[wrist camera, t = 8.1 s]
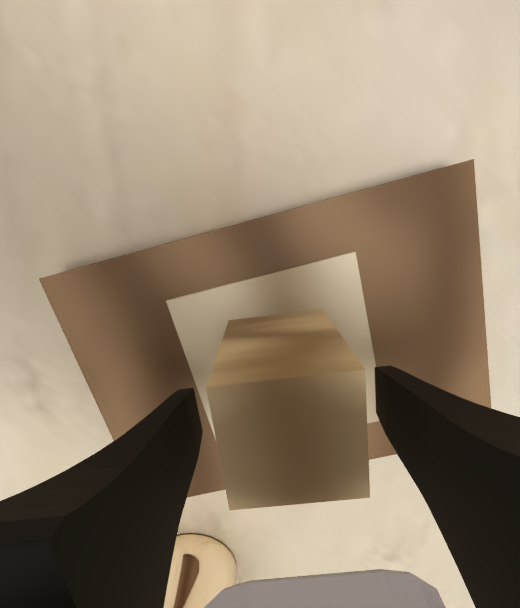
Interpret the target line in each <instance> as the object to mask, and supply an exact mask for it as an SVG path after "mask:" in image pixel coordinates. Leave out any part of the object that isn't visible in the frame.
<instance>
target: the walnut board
mask: <svg viewBox="0 0 520 608" xmlns="http://www.w3.org/2000/svg"><path fill="white" fill-rule="evenodd" d="M39 280H40V282H41V284H42V287H43V289H44V291H45V293H46V295H47V297H48V300H49V302H50V304H51V306H52V308H53V310H54V312H55V315H56V317H57V319H58V321H59V323H60V325H61V328H62V330H63V332H64V334H65V336H66V338H67V340H68V343H69V345H70V347H71V349H72V351H73V353H74V356H75V358H76V360H77V362H78V364H79V366H80V369H81V371H82V373H83V375H84V377H85V379H86V381H87V384H88V386H89V388H90V390H91V392H92V394H93V397H94V399H95V401H96V403H97V405H98V407H99V409H100V412H101V414H102V416H103V418H104V420H105V422H106V425H107V427H108V429H109V431H110V433H111V435H112V438H113V440H114V441H115V440H116V439H118V438H119V437H120V436H122V435H123V434H125V433H126V432H127V431H128V430H130V429H131V428H132V427H133V426H135V425H136V424H137V423H139V422H140V421H141V420H142V419H144V418H145V417H146V416H147V415H148V414H150V413H151V412H152V411H153V410H154V409H155V408H157V407H158V406H159V405H160V404H161V403H162V402H164V401H165V400H166V399H167V398H168V397H169V396H171V395H172V394H173V393H174V392H176V391H177V390H179V389H186V388H194V392H195V397H196V401H197V406H198V411H199V416H200V420H201V425H202V430H203V433H202V440H201V446H200V452H199V457H198V460H197V464H196V467H195V471H194V474H193V478H192V481H191V484H190V488H189V491H188V494H187V497H191V496H196V495H200V494H205V493H210V492H215V491H220V490H225V489H226V488H225V483H224V478H223V473H222V468H221V463H220V457H219V452H218V447H217V442H216V437H215V432H214V427H213V421H212V416H211V411H210V406H209V401H208V396H207V390H206V385H207V382H208V379H209V376H210V374H211V371H212V368H213V365H214V362H215V359H216V356H217V353H218V350H219V347H220V344H221V342H222V339H223V336H224V333H225V330H226V327H227V324H228V321H229V320H236V319H244V318H253V317H261V316H270V315H278V314H287V313H295V312H304V311H312V310H321V309H323V310H324V311H325V313H326V314H327V316H328V317H329V319H330V320H331V321H332V323H333V324H334V326H335V327H336V329H337V330H338V331H339V333H340V334H341V336H342V337H343V339H344V340H345V341H346V343H347V344H348V346H349V347H350V349H351V350H352V352H353V353H354V354H355V356H356V357H357V359H358V360H359V362H360V363H361V364H362V366H363V367H364V369H365V376H366V404H367V431H368V459H369V460H370V459H375V458H380V457H384V456H389V455H394V454H397V453H396V451H395V449H394V448H393V446H392V444H391V443H390V441H389V439H388V438H387V436H386V434H385V432H384V430H383V428H382V425H381V423H380V421H379V418H378V416H377V414H376V399H375V367H380V366H389V365H391V366H393V367H396V368H398V369H400V370H403V371H405V372H407V373H409V374H411V375H413V376H415V377H417V378H419V379H421V380H423V381H425V382H427V383H429V384H432V385H434V386H436V387H438V388H440V389H442V390H445V391H447V392H449V393H452V394H454V395H456V396H459V397H461V398H464V399H466V400H469V401H471V402H474V403H477V404H479V405H482V406H485V407H488V408H491V398H490V384H489V370H488V355H487V341H486V327H485V313H484V299H483V284H482V270H481V256H480V242H479V228H478V213H477V199H476V185H475V171H474V159H473V160H469V161H465V162H462V163H458V164H454V165H451V166H447V167H444V168H440V169H436V170H433V171H429V172H425V173H422V174H418V175H414V176H411V177H407V178H404V179H400V180H396V181H393V182H389V183H385V184H382V185H378V186H374V187H371V188H367V189H364V190H360V191H356V192H353V193H349V194H345V195H342V196H338V197H334V198H331V199H327V200H324V201H320V202H316V203H313V204H309V205H305V206H302V207H298V208H294V209H291V210H287V211H284V212H280V213H276V214H273V215H269V216H265V217H262V218H258V219H254V220H251V221H247V222H244V223H240V224H236V225H233V226H229V227H225V228H222V229H218V230H214V231H211V232H207V233H204V234H200V235H196V236H193V237H189V238H185V239H182V240H178V241H174V242H171V243H167V244H164V245H160V246H156V247H153V248H149V249H145V250H142V251H138V252H134V253H131V254H127V255H124V256H120V257H116V258H113V259H109V260H105V261H102V262H98V263H94V264H91V265H87V266H84V267H80V268H76V269H73V270H69V271H65V272H62V273H58V274H54V275H51V276H47V277H44V278H40V279H39Z"/></svg>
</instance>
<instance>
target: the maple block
mask: <svg viewBox="0 0 520 608" xmlns="http://www.w3.org/2000/svg"><path fill="white" fill-rule="evenodd" d="M206 390H207V396H208V401H209V406H210V411H211V416H212V421H213V427H214V432H215V437H216V442H217V447H218V452H219V457H220V463H221V468H222V473H223V478H224V483H225V488H226V494H227V499H228V504H229V509H230V510H238V509H249V508H260V507H271V506H282V505H293V504H304V503H315V502H326V501H337V500H348V499H359V498H370V487H369V459H368V431H367V404H366V376H365V369H364V367H363V366H362V364H361V363H360V362H359V360H358V359H357V357H356V356H355V354H354V353H353V352H352V350H351V349H350V347H349V346H348V344H347V343H346V341H345V340H344V339H343V337H342V336H341V334H340V333H339V331H338V330H337V329H336V327H335V326H334V324H333V323H332V321H331V320H330V319H329V317H328V316H327V314H326V313H325V311H324V310H323V309H321V310H312V311H304V312H295V313H287V314H278V315H270V316H261V317H253V318H244V319H236V320H229V321H228V324H227V327H226V330H225V333H224V336H223V339H222V342H221V344H220V347H219V350H218V353H217V356H216V359H215V362H214V365H213V368H212V371H211V374H210V376H209V379H208V382H207V385H206Z"/></svg>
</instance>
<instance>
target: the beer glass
mask: <svg viewBox="0 0 520 608" xmlns="http://www.w3.org/2000/svg"><path fill="white" fill-rule="evenodd" d="M235 576H236V563H235V560H234V557H233V555H232V554H231V552H230V551H229V550H228V549H227V548H226V547H225V546H224V545H223V544H222V543H220V542H219V541H217V540H215V539H213V538H210V537H207V536H204V535H198V534H185V535H179V536H177V537H176V542H175V547H174V552H173V557H172V562H171V568H170V574H169V579H168V585H167V590H166V596H165V603H164V608H204V607H205V606H206V605H207V604H208V603H209V602H210V601H211V600H212V599H213V598H214V597H215V596H216V595H218V594H219V593H220V592H221V591H222V590H223V589H224V588H227V587H230V586H234V581H235Z"/></svg>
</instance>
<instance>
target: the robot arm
mask: <svg viewBox="0 0 520 608" xmlns="http://www.w3.org/2000/svg"><path fill="white" fill-rule="evenodd" d="M375 399H376V414H377V416H378V418H379V421H380V423H381V425H382V428H383V430H384V432H385V434H386V436H387V438H388V439H389V441H390V443H391V444H392V446H393V448H394V449H395V451H396V453H397V454H398V456H399V458H400V459H401V461H402V462H403V464H404V466H405V467H406V469H407V471H408V472H409V474H410V475H411V477H412V479H413V480H414V482H415V484H416V485H417V487H418V488H419V490H420V492H421V494H422V495H423V497H424V499H425V501H426V503H427V504H428V506H429V509H430V511H431V513H432V515H433V517H434V519H435V521H436V523H437V525H438V527H439V529H440V531H441V533H442V535H443V537H444V539H445V541H446V543H447V546H448V548H449V550H450V552H451V554H452V556H453V558H454V560H455V563H456V565H457V567H458V569H459V571H460V573H461V576H462V578H463V580H464V582H465V585H466V587H467V589H468V591H469V594H470V596H471V598H472V600H473V603H474V605H475V607H476V608H520V417H517V416H513V415H510V414H507V413H503V412H500V411H497V410H494V409H491V408H488V407H485V406H482V405H479V404H477V403H474V402H471V401H469V400H466V399H464V398H461V397H459V396H456V395H454V394H452V393H449V392H447V391H445V390H442V389H440V388H438V387H436V386H434V385H432V384H429V383H427V382H425V381H423V380H421V379H419V378H417V377H415V376H413V375H411V374H409V373H407V372H405V371H403V370H400V369H398V368H396V367H393V366H391V365H389V366H380V367H375ZM202 433H203V430H202V425H201V420H200V416H199V411H198V406H197V401H196V397H195V392H194V388H186V389H179V390H177V391H176V392H174V393H173V394H172V395H171V396H169V397H168V398H167V399H166V400H165V401H164V402H162V403H161V404H160V405H159V406H158V407H157V408H155V409H154V410H153V411H152V412H151V413H150V414H148V415H147V416H146V417H145V418H144V419H142V420H141V421H140V422H139V423H137V424H136V425H135V426H133V427H132V428H131V429H130V430H128V431H127V432H126V433H125V434H123V435H122V436H120V437H119V438H118V439H116V440H115V441H113V442H112V443H111V444H109V445H107V446H106V447H104V448H103V449H101V450H100V451H98V452H97V453H95V454H94V455H92V456H90V457H88V458H87V459H85V460H83V461H82V462H80V463H78V464H76V465H75V466H73V467H71V468H69V469H68V470H66V471H64V472H62V473H60V474H58V475H56V476H54V477H52V478H50V479H48V480H47V481H44V482H42V483H40V484H38V485H36V486H34V487H32V488H30V489H28V490H25V491H23V492H21V493H19V494H16V495H14V496H12V497H9V498H7V499H4V500H2V501H0V608H164V603H165V596H166V590H167V585H168V579H169V574H170V568H171V562H172V557H173V552H174V547H175V542H176V537H177V532H178V527H179V523H180V519H181V515H182V511H183V508H184V504H185V501H186V498H187V494H188V491H189V488H190V484H191V481H192V478H193V474H194V471H195V467H196V464H197V460H198V457H199V452H200V446H201V440H202ZM204 608H445V605H444V603H443V601H442V599H441V597H440V595H439V593H438V591H437V589H436V588H434V587H433V586H431V585H429V584H428V583H426V582H425V581H423V580H422V579H420V578H418V577H417V576H415V575H413V574H411V573H409V572H402V571H393V570H383V569H378V570H367V571H355V572H344V573H332V574H321V575H309V576H298V577H287V578H275V579H264V580H252V581H247V582H244V583H240V584H237V585H234V586H230V587H227V588H224V589H223V590H222V591H221V592H220V593H219V594H218V595H216V596H215V597H214V598H213V599H212V600H211V601H210V602H209V603H208V604H207V605H206V606H205V607H204Z"/></svg>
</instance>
